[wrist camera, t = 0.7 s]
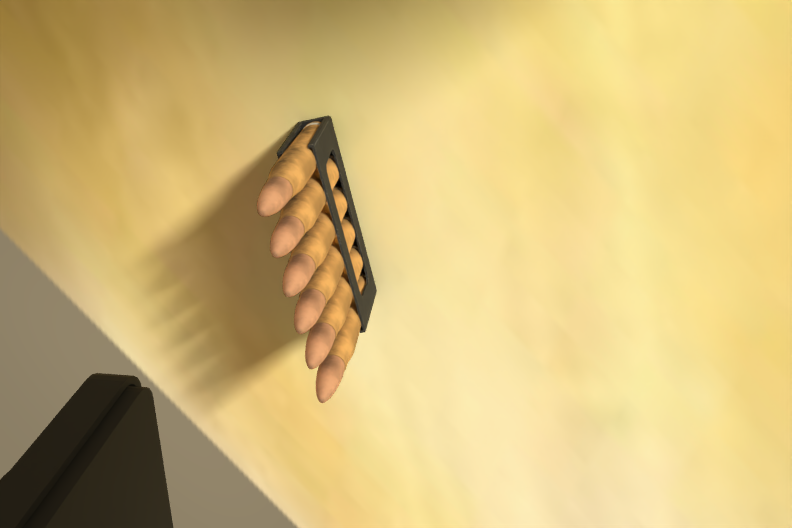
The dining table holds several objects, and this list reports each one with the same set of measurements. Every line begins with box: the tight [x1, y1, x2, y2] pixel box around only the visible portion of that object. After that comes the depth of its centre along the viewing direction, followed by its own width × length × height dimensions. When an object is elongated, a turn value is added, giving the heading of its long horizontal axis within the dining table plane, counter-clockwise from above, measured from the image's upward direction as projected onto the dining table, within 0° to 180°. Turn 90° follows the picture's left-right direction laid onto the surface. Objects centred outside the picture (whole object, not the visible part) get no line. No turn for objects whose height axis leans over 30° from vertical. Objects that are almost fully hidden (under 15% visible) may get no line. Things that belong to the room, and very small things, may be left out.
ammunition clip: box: [257, 116, 376, 403], centre depth 35 cm, size 11×2×12 cm, turn 13°
